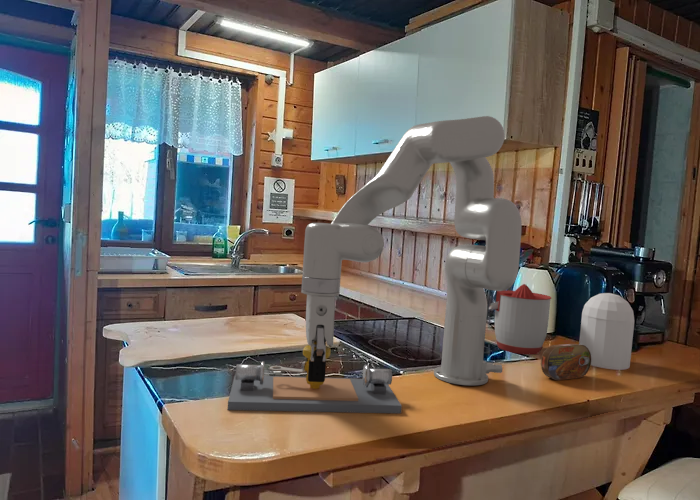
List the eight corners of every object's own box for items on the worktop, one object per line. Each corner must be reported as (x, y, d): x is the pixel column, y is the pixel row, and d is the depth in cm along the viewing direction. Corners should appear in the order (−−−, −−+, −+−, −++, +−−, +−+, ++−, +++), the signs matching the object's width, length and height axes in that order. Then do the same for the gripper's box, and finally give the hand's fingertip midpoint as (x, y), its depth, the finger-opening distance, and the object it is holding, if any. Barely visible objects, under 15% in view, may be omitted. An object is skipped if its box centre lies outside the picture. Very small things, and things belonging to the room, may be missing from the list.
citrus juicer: (482, 341, 170) (488, 278, 168) (540, 347, 167) (546, 283, 166) (488, 353, 154) (494, 284, 153) (551, 360, 152) (558, 289, 151)
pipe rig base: (384, 386, 118) (385, 377, 118) (401, 413, 102) (401, 403, 102) (234, 382, 113) (234, 372, 113) (227, 409, 98) (228, 398, 97)
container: (629, 373, 144) (636, 298, 142) (574, 363, 150) (581, 292, 149) (629, 362, 156) (637, 293, 154) (579, 354, 162) (586, 288, 161)
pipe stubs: (387, 387, 112) (388, 363, 111) (391, 395, 107) (393, 369, 107) (236, 383, 108) (237, 358, 107) (234, 391, 103) (236, 364, 103)
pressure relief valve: (324, 393, 104) (327, 341, 104) (264, 386, 106) (267, 335, 105) (330, 384, 110) (333, 335, 109) (273, 378, 112) (275, 329, 111)
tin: (546, 381, 130) (550, 347, 130) (537, 377, 133) (540, 344, 133) (590, 377, 137) (594, 344, 137) (580, 373, 140) (583, 341, 139)
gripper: (345, 293, 98) (338, 390, 99) (335, 281, 115) (329, 363, 116) (303, 291, 97) (297, 389, 98) (299, 279, 114) (294, 362, 115)
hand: (314, 374), depth 107 cm, fingers open, 6 cm apart
